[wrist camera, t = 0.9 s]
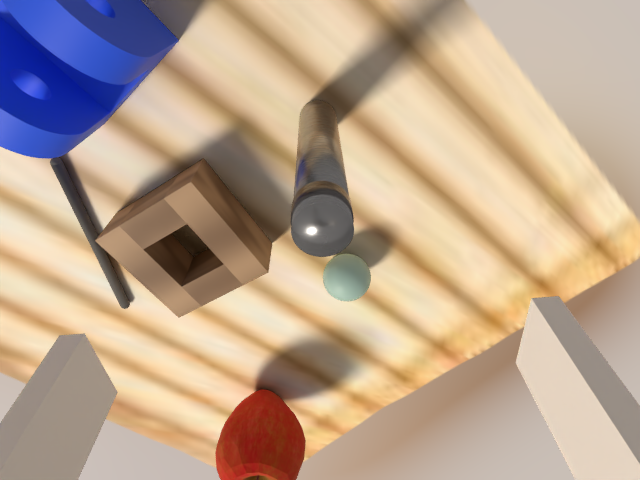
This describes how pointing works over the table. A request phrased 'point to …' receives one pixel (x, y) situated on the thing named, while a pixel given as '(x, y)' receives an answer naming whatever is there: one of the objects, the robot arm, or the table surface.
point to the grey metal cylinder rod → (320, 185)
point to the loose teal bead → (346, 277)
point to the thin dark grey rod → (89, 230)
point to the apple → (261, 441)
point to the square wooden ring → (171, 257)
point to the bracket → (71, 68)
